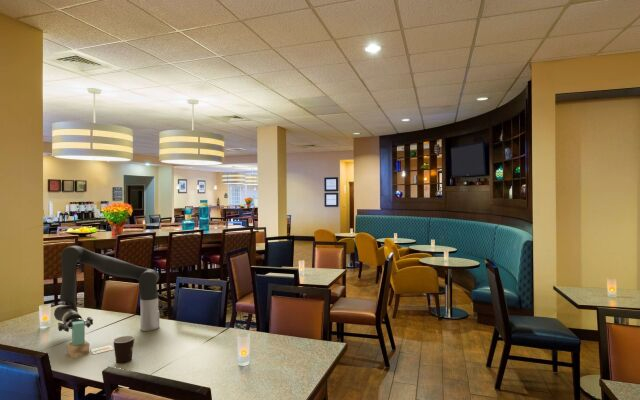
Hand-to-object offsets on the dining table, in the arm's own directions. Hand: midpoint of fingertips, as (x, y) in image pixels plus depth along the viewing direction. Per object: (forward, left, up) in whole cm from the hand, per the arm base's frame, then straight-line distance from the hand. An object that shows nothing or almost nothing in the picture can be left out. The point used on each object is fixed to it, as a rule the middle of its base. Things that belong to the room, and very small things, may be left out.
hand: (78, 327), depth 182 cm
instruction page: (-9, +3, -12) cm, 16 cm away
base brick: (0, 0, -13) cm, 13 cm away
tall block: (0, 0, -8) cm, 8 cm away
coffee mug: (-15, +23, -13) cm, 30 cm away
